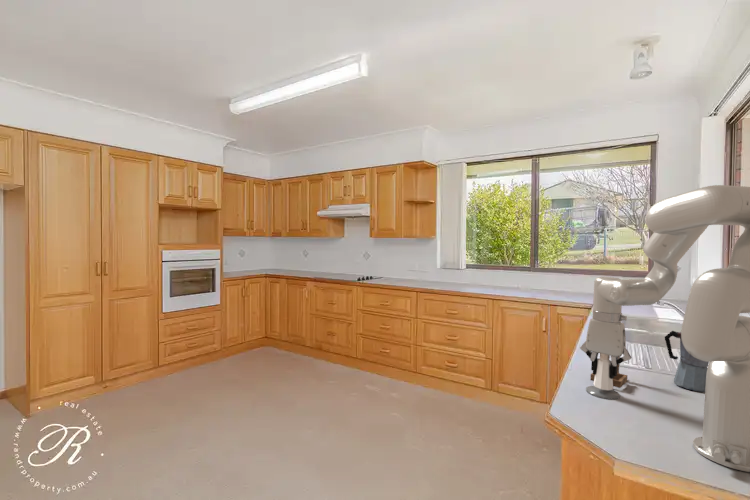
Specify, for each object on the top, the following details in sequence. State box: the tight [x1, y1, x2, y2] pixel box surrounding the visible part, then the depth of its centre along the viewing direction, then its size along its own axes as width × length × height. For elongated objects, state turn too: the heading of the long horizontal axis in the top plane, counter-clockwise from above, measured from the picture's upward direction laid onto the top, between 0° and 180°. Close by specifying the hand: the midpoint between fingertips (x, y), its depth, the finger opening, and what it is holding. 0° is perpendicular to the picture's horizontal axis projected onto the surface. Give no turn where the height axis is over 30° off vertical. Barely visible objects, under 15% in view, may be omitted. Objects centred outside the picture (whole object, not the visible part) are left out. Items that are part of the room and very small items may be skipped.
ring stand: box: [590, 356, 628, 389], centre depth 129 cm, size 14×9×16 cm, turn 134°
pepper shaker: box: [593, 353, 614, 390], centre depth 119 cm, size 5×5×11 cm
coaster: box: [585, 385, 621, 400], centre depth 119 cm, size 9×9×1 cm
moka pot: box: [664, 330, 709, 393], centre depth 126 cm, size 10×15×20 cm, turn 78°
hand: (603, 374), depth 119 cm, fingers closed on pepper shaker, 4 cm apart
